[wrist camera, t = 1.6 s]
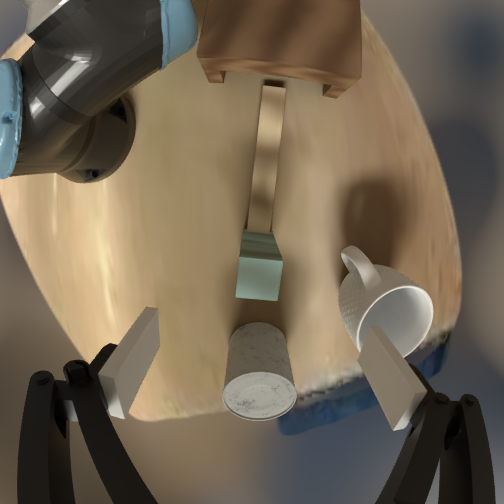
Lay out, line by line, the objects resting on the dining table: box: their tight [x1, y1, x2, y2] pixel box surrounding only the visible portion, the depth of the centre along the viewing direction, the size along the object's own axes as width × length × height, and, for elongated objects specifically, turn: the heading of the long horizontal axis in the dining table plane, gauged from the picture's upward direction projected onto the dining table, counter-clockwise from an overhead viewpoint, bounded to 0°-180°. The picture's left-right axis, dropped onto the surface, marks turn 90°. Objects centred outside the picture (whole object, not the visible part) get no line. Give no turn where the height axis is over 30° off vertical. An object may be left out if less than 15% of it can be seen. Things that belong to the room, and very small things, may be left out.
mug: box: [338, 246, 433, 357], centre depth 34 cm, size 15×11×13 cm
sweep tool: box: [236, 85, 286, 301], centre depth 30 cm, size 24×4×14 cm, turn 174°
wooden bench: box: [196, 0, 362, 98], centre depth 27 cm, size 18×14×10 cm
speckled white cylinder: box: [222, 322, 297, 421], centre depth 38 cm, size 10×10×12 cm
